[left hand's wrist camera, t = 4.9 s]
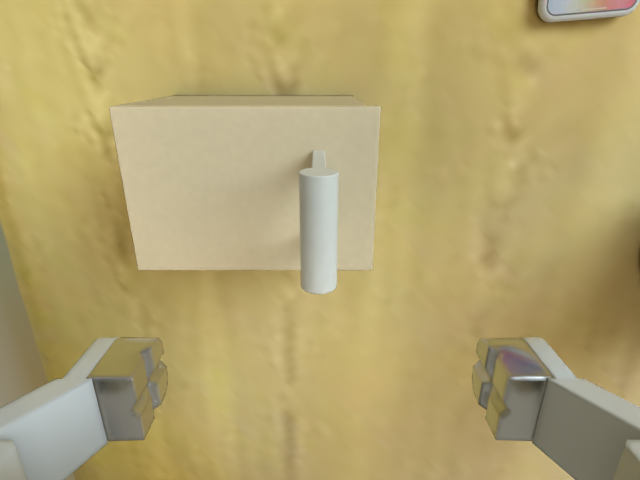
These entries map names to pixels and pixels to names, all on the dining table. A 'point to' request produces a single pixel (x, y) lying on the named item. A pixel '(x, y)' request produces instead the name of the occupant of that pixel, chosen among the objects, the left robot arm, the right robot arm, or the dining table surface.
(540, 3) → the smartphone
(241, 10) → the dining table surface
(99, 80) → the dining table surface
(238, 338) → the dining table surface
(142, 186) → the lid
